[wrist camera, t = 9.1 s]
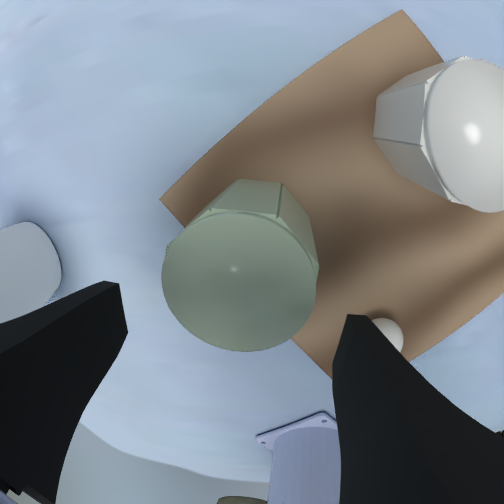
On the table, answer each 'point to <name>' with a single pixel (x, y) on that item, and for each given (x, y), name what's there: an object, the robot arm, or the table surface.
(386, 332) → the white marble
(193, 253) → the sage green acorn nut
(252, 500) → the planter bowl
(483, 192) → the white acorn nut
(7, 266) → the cup
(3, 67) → the table surface
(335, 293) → the walnut board
